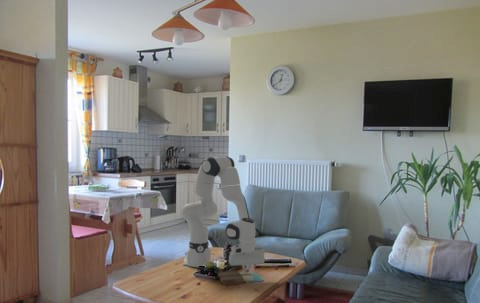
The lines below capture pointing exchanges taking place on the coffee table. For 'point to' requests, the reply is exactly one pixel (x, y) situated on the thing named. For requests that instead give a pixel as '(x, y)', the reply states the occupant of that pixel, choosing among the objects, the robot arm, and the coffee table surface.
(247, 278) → the birch tile
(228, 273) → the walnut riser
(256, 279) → the teal mat
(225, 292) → the coffee table surface
